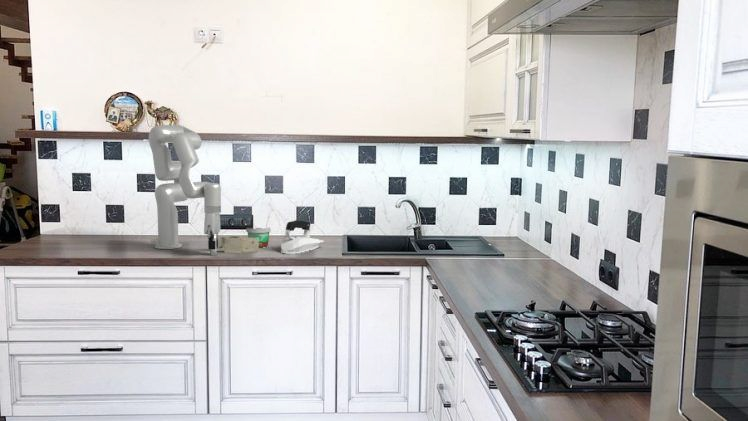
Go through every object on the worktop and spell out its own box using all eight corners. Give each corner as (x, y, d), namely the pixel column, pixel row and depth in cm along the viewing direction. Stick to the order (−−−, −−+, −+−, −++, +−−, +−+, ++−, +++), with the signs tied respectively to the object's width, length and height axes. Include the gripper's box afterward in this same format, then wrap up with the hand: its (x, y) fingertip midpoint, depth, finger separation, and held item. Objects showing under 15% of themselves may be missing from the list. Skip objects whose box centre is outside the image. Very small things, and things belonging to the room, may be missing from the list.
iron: (324, 248, 327) (324, 218, 325) (292, 255, 307) (292, 224, 305) (307, 245, 333) (307, 216, 331) (275, 252, 313) (275, 222, 311)
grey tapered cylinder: (208, 255, 303) (207, 228, 301) (210, 254, 306) (210, 227, 305) (216, 255, 302) (215, 228, 301) (218, 254, 306) (218, 227, 305)
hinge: (207, 252, 311) (207, 237, 310) (213, 249, 318) (213, 235, 318) (256, 253, 309) (256, 239, 308) (260, 250, 316) (260, 236, 316)
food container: (247, 249, 320) (246, 229, 319) (246, 246, 326) (246, 227, 325) (272, 248, 324) (272, 228, 322) (270, 246, 329) (270, 226, 328)
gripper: (210, 207, 310) (211, 245, 312) (198, 211, 294) (199, 251, 296) (226, 207, 309) (226, 245, 312) (214, 212, 293) (215, 252, 296)
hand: (213, 248), depth 304 cm, fingers closed on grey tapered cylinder, 3 cm apart
